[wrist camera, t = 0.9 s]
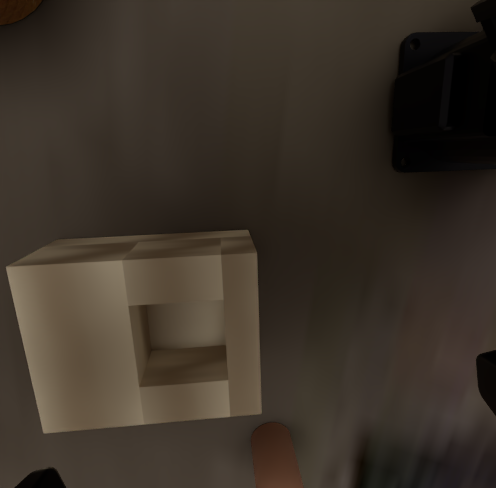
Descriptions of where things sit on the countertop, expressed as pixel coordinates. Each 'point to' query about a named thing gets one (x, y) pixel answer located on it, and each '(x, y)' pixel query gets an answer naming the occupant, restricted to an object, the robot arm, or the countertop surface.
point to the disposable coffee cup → (16, 10)
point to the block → (140, 328)
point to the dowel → (274, 458)
